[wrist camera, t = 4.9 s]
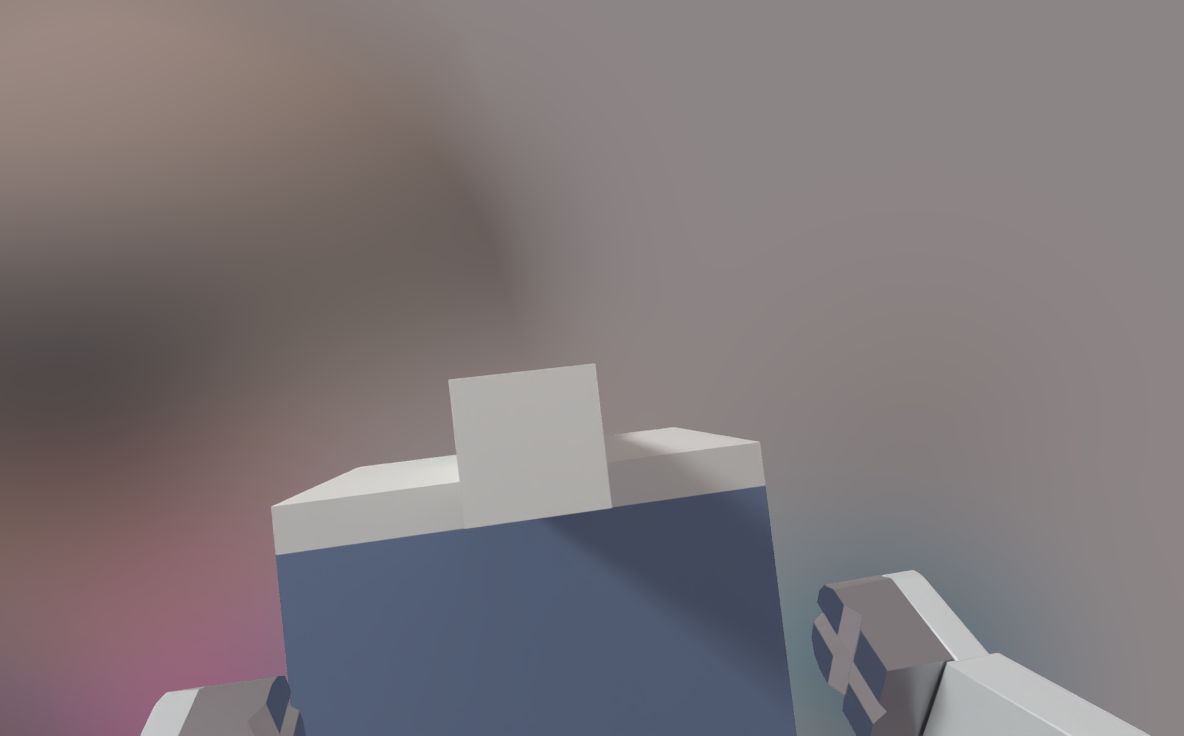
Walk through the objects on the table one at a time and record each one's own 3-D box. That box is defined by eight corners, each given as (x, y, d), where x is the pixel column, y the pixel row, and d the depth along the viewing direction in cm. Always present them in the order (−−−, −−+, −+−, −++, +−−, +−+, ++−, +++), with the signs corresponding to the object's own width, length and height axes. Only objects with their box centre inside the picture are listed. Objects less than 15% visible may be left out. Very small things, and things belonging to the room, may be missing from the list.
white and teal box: (626, 506, 13) (609, 361, 13) (449, 531, 13) (433, 380, 13) (556, 441, 33) (549, 383, 33) (486, 450, 32) (479, 391, 33)
